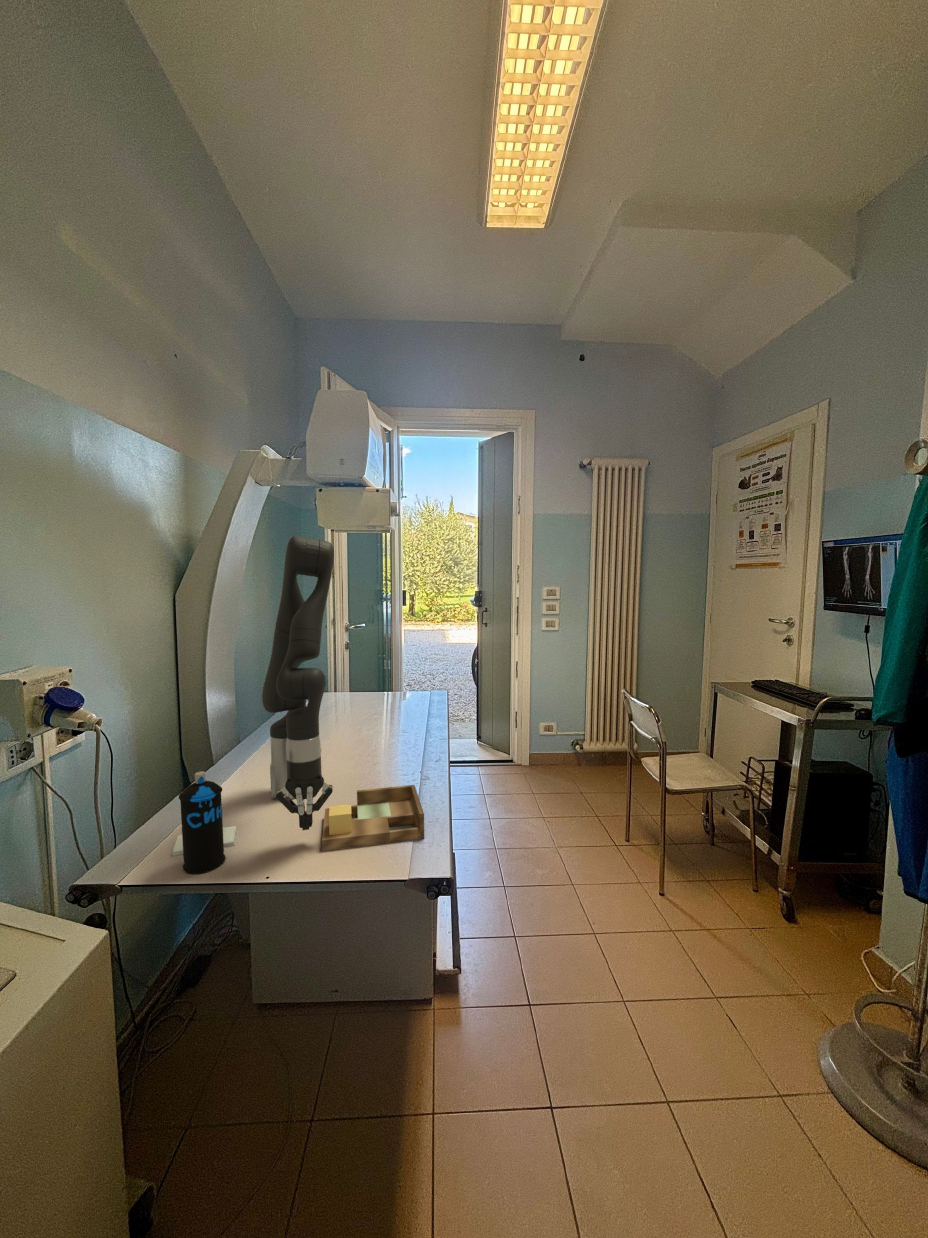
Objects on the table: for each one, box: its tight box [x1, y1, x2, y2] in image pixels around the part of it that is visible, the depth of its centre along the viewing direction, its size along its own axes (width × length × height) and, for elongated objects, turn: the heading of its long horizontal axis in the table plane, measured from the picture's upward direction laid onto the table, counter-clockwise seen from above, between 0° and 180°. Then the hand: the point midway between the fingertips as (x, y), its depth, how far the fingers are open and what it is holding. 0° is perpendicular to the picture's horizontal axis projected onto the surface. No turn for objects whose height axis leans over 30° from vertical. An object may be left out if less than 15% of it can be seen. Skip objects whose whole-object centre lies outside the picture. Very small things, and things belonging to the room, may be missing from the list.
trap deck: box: [321, 784, 425, 852], centre depth 123 cm, size 23×17×6 cm
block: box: [329, 804, 352, 835], centre depth 117 cm, size 5×5×4 cm
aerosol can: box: [178, 770, 227, 875], centre depth 107 cm, size 8×8×20 cm
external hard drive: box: [171, 825, 237, 857], centre depth 117 cm, size 2×8×12 cm
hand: (306, 828), depth 116 cm, fingers closed
